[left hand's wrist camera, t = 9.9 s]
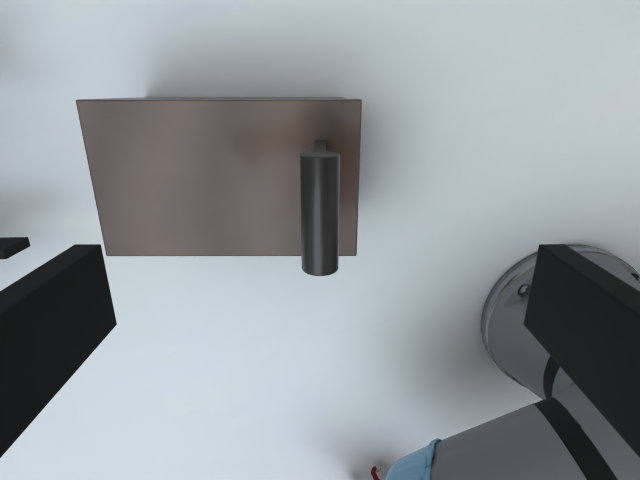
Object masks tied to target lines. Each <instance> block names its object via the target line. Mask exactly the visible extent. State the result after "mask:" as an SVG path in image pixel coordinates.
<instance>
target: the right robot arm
mask: <svg viewBox="0 0 640 480" xmlns="http://www.w3.org/2000/svg"><path fill="white" fill-rule="evenodd" d="M28 247H30V243H29V239H28V237H14V238H0V259H7V258H9V257H11V256H13V255H15V254H16V253H18V252H20V251H22V250H24V249H26V248H28Z"/></svg>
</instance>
